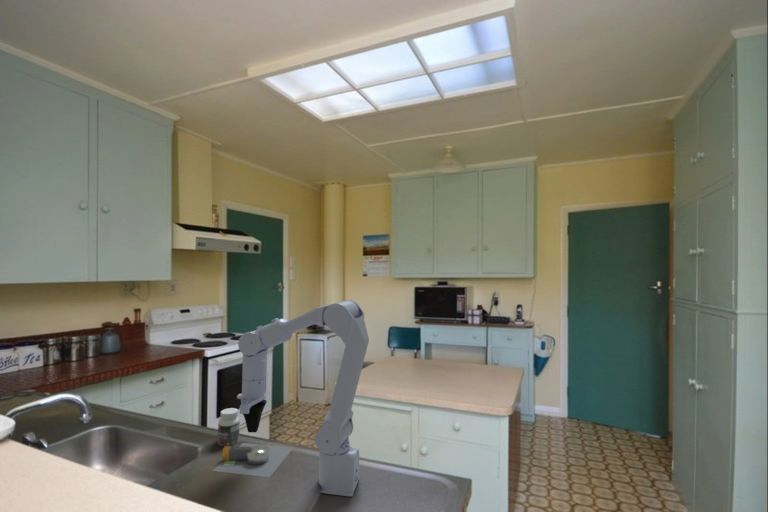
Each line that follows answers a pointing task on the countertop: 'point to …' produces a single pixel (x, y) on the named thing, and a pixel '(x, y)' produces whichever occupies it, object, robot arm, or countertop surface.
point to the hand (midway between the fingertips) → (252, 431)
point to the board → (262, 470)
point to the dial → (247, 454)
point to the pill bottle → (228, 427)
